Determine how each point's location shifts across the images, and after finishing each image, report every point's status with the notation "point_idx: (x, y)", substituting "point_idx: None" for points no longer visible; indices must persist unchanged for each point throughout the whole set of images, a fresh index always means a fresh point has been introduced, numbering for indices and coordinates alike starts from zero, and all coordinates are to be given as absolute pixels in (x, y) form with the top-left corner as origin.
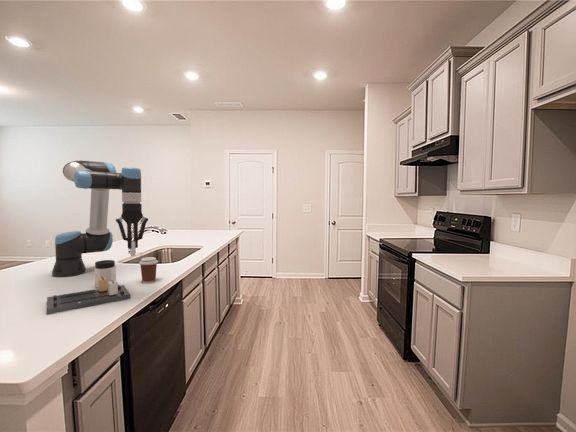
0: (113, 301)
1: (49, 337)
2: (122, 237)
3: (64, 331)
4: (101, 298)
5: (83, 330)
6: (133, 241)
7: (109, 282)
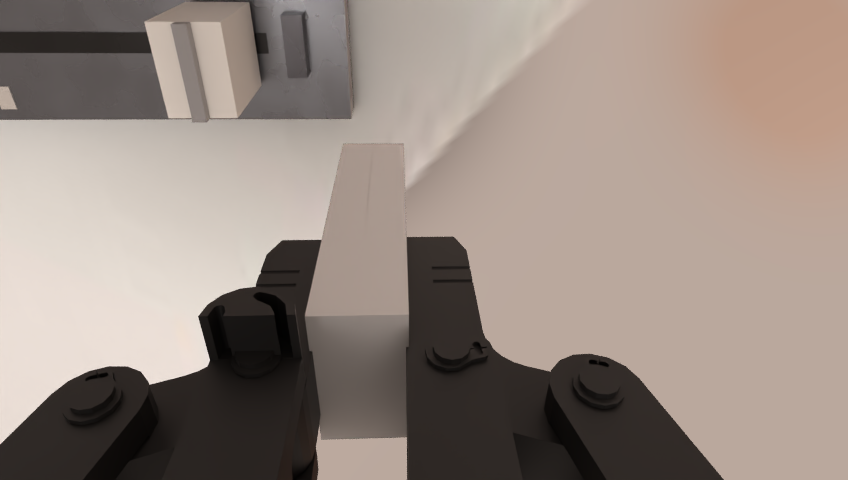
0: None
1: (24, 384)
2: (18, 461)
3: (64, 363)
4: (150, 94)
5: None
6: (369, 435)
7: (163, 67)
